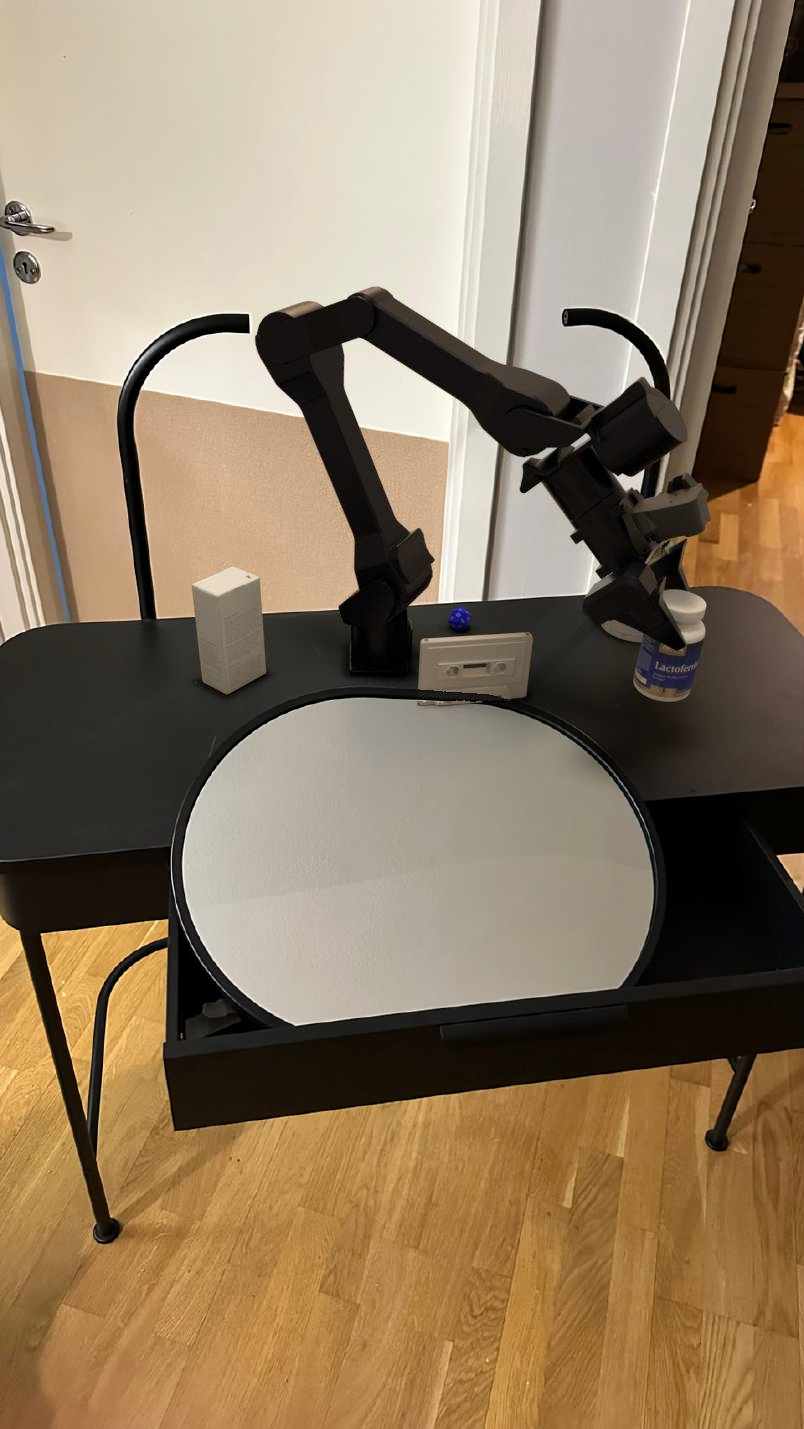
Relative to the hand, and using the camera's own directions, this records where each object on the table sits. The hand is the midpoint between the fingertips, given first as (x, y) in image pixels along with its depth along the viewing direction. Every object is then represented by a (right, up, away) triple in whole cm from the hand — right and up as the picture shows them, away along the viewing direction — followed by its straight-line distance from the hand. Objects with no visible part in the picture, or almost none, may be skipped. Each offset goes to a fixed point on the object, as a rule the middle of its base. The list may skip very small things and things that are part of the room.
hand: (688, 634), depth 94 cm
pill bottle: (-2, -5, +4) cm, 7 cm away
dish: (+1, +3, +27) cm, 27 cm away
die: (-21, +3, +25) cm, 33 cm away
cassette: (-20, -6, +12) cm, 24 cm away
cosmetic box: (-46, -4, +14) cm, 48 cm away
